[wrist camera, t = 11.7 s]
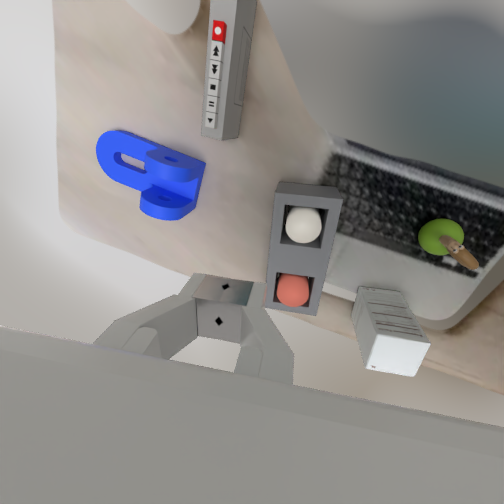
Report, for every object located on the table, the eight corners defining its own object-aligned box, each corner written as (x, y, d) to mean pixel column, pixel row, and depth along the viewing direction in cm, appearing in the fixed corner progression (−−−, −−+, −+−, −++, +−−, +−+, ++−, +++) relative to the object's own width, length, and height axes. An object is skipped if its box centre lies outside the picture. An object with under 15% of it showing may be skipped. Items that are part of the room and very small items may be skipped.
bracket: (206, 162, 41) (183, 171, 33) (195, 207, 45) (172, 225, 37) (105, 122, 41) (59, 122, 33) (104, 171, 45) (62, 180, 37)
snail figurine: (432, 202, 38) (482, 232, 27) (459, 228, 39) (518, 267, 28) (400, 227, 40) (435, 263, 30) (427, 251, 41) (470, 295, 31)
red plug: (310, 263, 43) (311, 283, 38) (305, 286, 46) (306, 309, 40) (281, 259, 44) (278, 278, 38) (278, 282, 46) (275, 304, 41)
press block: (336, 187, 39) (343, 199, 32) (314, 290, 48) (316, 315, 42) (279, 181, 40) (274, 192, 34) (268, 283, 49) (263, 307, 43)
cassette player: (236, -1, 31) (210, -51, 22) (257, 2, 31) (239, -46, 22) (221, 133, 39) (197, 136, 30) (238, 137, 38) (219, 140, 30)
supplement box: (389, 321, 48) (414, 379, 37) (349, 315, 50) (363, 369, 38) (401, 290, 45) (433, 344, 34) (358, 284, 46) (376, 335, 35)
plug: (321, 199, 39) (324, 212, 34) (315, 228, 42) (318, 245, 36) (289, 196, 40) (287, 208, 34) (286, 225, 42) (283, 240, 37)
